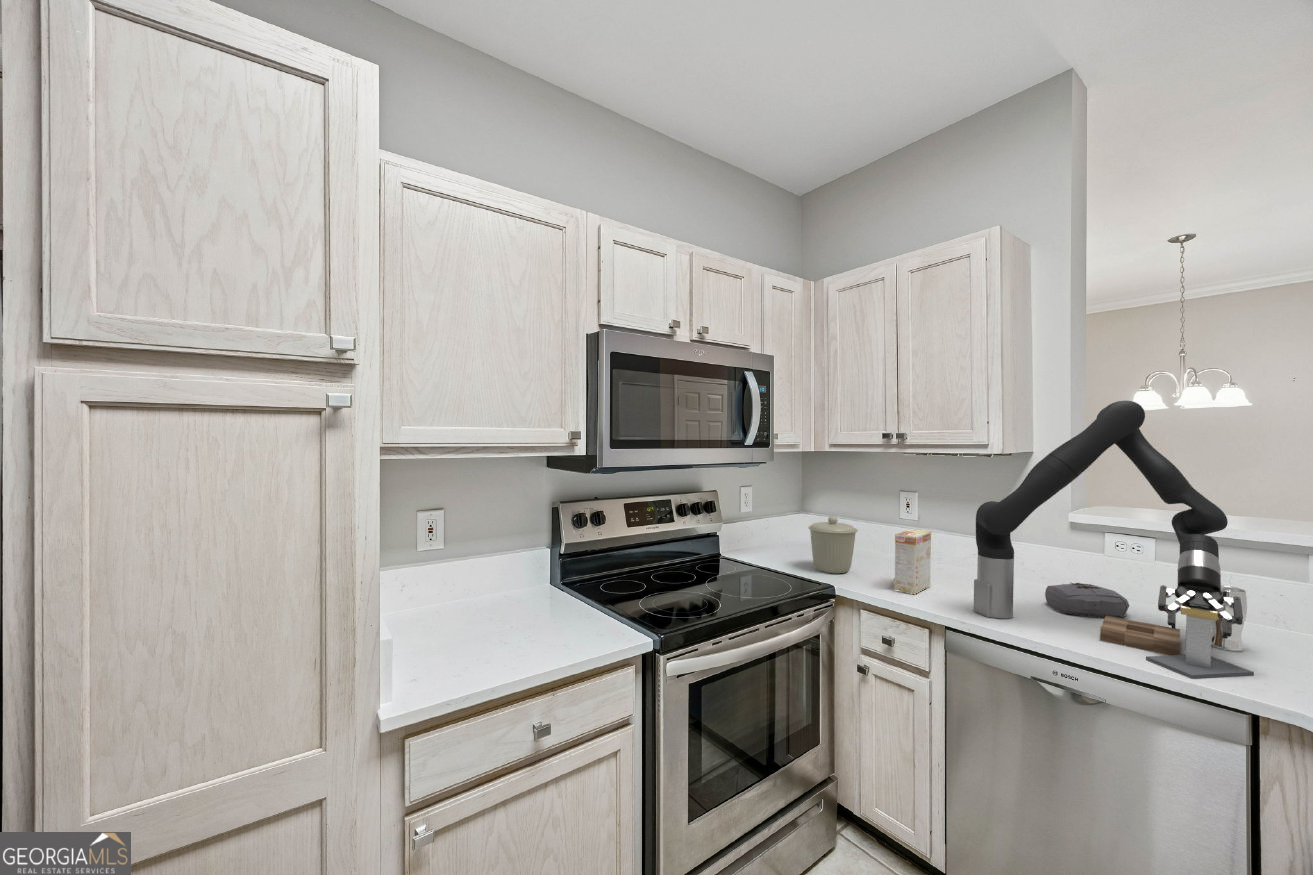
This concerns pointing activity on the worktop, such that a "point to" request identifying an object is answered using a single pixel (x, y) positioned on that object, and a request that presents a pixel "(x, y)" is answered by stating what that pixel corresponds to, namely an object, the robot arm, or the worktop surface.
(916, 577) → the coffeecake box
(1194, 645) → the t key
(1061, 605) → the grey rounded bag
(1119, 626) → the socket block
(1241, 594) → the beer glass
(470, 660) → the worktop surface
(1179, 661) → the slate mat
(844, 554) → the canister
